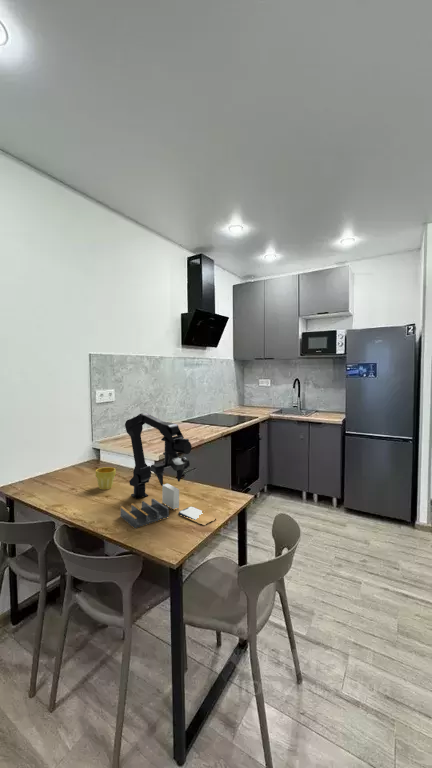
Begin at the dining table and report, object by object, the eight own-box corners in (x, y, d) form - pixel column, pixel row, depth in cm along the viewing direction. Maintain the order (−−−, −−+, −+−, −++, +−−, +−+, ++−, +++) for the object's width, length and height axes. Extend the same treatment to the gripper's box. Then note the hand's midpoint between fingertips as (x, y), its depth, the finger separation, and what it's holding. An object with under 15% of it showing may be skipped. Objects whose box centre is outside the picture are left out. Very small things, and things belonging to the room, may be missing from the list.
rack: (120, 516, 139) (120, 506, 139) (153, 506, 149) (153, 497, 149) (134, 528, 128) (134, 518, 128) (168, 517, 139) (169, 507, 139)
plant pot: (118, 484, 178) (118, 467, 178) (110, 491, 168) (110, 473, 167) (100, 483, 179) (100, 466, 179) (91, 490, 169) (91, 472, 168)
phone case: (217, 520, 138) (191, 509, 148) (217, 516, 138) (191, 505, 148) (203, 527, 131) (177, 515, 142) (203, 524, 131) (177, 511, 141)
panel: (162, 503, 154) (162, 484, 153) (167, 501, 156) (167, 483, 155) (173, 510, 146) (173, 490, 146) (179, 508, 148) (179, 489, 148)
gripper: (162, 457, 138) (161, 493, 138) (196, 451, 150) (196, 484, 150) (149, 452, 146) (149, 486, 147) (183, 446, 158) (183, 477, 159)
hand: (170, 483), depth 150 cm, fingers open, 9 cm apart
